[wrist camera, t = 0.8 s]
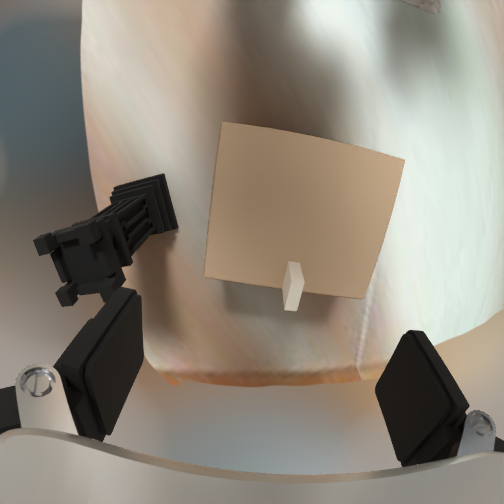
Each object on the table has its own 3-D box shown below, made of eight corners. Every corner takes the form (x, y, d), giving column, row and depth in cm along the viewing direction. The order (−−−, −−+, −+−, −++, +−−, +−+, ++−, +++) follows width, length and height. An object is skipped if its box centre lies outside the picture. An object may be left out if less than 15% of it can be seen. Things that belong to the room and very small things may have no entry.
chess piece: (164, 173, 40) (90, 218, 21) (178, 226, 43) (123, 304, 25) (115, 186, 41) (29, 237, 22) (130, 236, 44) (60, 310, 25)
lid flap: (223, 121, 26) (215, 121, 21) (402, 159, 26) (424, 166, 22) (205, 274, 32) (197, 297, 28) (362, 296, 33) (373, 320, 28)
